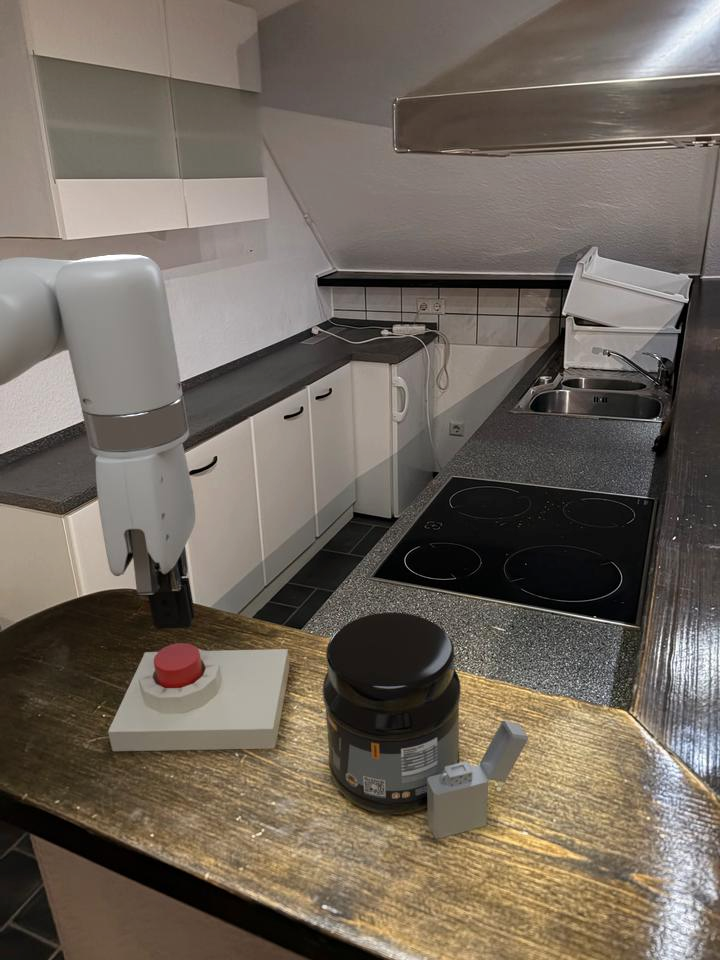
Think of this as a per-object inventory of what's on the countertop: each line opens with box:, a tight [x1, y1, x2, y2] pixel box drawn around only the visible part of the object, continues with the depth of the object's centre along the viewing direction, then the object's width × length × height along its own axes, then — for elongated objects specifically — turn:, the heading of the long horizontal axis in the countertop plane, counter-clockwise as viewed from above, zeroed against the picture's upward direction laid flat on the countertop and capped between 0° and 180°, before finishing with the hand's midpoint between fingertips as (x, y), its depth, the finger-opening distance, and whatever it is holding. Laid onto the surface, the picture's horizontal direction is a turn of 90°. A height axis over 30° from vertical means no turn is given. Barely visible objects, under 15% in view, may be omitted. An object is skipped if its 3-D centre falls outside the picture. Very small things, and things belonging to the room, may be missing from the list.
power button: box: [154, 642, 202, 688], centre depth 68 cm, size 4×4×2 cm
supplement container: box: [322, 612, 462, 815], centre depth 59 cm, size 10×10×12 cm
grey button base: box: [107, 648, 291, 752], centre depth 69 cm, size 14×11×4 cm
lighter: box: [426, 720, 529, 840], centre depth 55 cm, size 7×2×8 cm, turn 105°
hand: (175, 622), depth 66 cm, fingers closed
